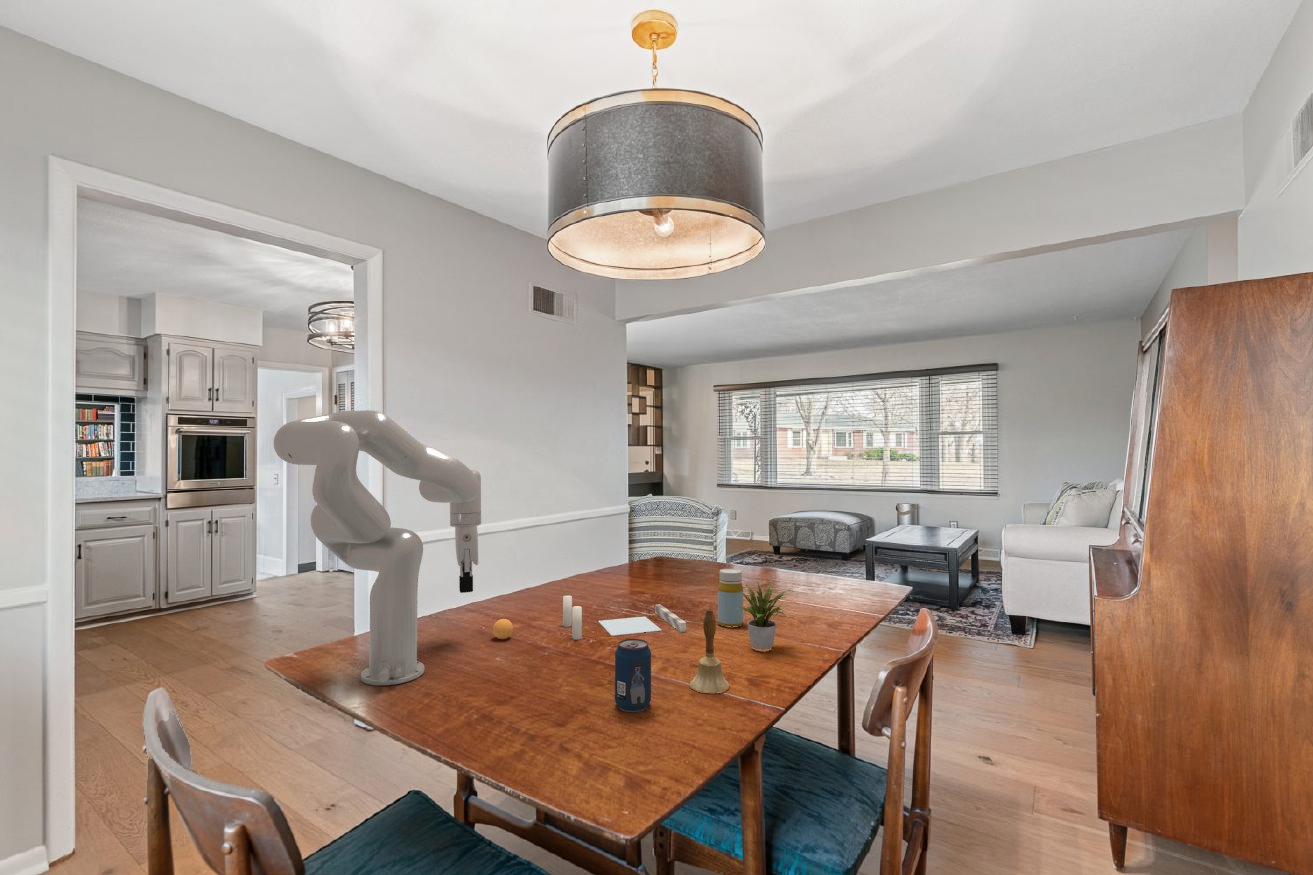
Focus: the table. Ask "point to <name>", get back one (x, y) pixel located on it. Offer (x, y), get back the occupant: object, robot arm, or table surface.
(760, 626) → the house plant
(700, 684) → the hand bell
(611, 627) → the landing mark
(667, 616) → the wall
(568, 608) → the post far
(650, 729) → the table surface
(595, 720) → the table surface
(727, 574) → the bottle
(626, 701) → the soda can
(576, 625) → the post near
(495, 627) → the ball
